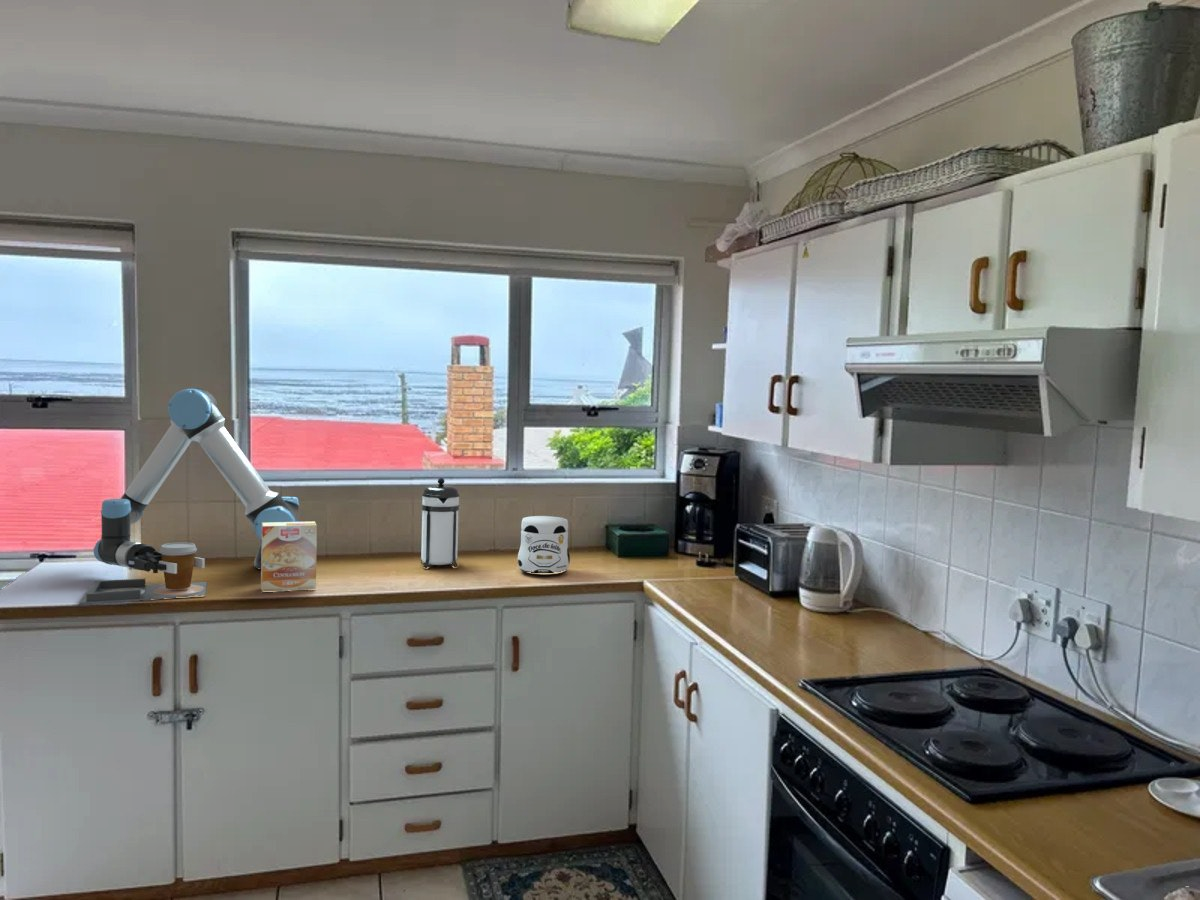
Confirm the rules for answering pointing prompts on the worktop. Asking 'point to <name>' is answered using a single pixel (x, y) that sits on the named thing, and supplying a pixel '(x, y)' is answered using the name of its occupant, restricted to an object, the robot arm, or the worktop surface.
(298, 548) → the coffeecake box
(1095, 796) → the worktop surface
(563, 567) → the doce de leite jar
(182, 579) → the disposable coffee cup
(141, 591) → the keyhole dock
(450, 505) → the coffee press
